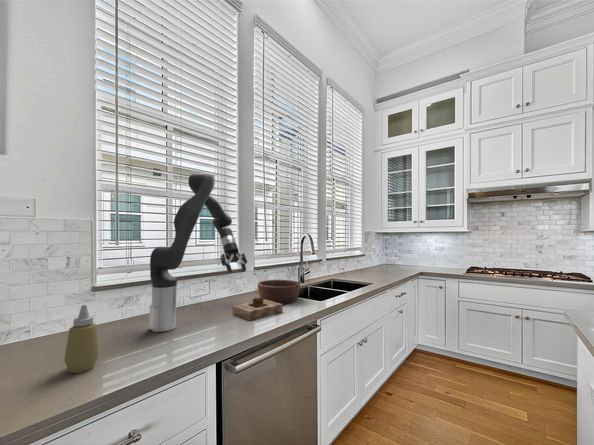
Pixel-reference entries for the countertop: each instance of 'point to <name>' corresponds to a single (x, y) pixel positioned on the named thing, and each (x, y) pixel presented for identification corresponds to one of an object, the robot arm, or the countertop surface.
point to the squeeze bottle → (82, 343)
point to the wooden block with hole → (257, 310)
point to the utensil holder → (257, 301)
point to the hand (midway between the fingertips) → (237, 271)
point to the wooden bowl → (279, 290)
